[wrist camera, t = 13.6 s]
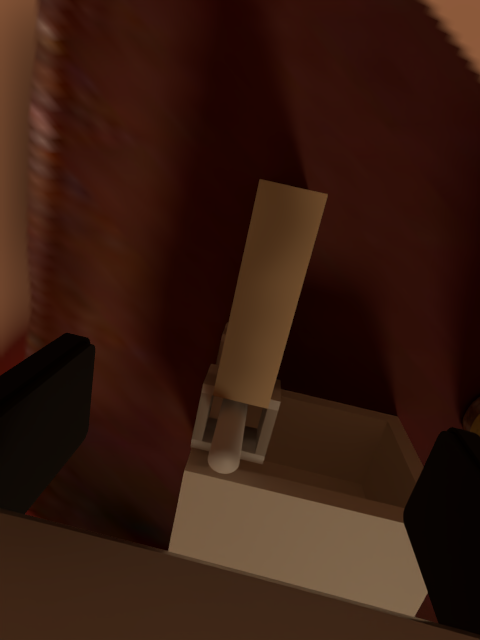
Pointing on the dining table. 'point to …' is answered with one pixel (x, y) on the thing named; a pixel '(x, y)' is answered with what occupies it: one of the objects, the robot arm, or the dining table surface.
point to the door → (262, 312)
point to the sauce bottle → (472, 418)
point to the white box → (307, 501)
